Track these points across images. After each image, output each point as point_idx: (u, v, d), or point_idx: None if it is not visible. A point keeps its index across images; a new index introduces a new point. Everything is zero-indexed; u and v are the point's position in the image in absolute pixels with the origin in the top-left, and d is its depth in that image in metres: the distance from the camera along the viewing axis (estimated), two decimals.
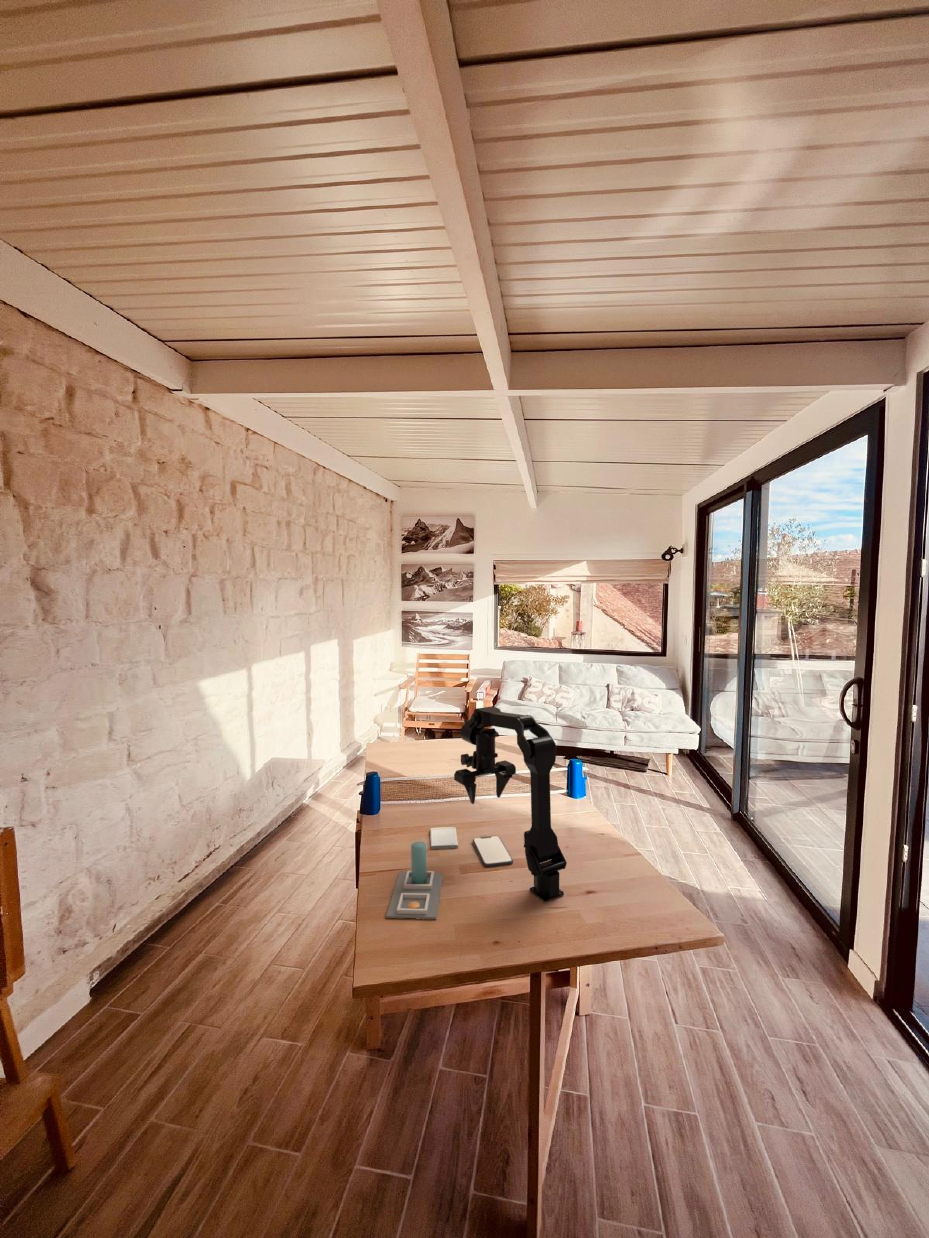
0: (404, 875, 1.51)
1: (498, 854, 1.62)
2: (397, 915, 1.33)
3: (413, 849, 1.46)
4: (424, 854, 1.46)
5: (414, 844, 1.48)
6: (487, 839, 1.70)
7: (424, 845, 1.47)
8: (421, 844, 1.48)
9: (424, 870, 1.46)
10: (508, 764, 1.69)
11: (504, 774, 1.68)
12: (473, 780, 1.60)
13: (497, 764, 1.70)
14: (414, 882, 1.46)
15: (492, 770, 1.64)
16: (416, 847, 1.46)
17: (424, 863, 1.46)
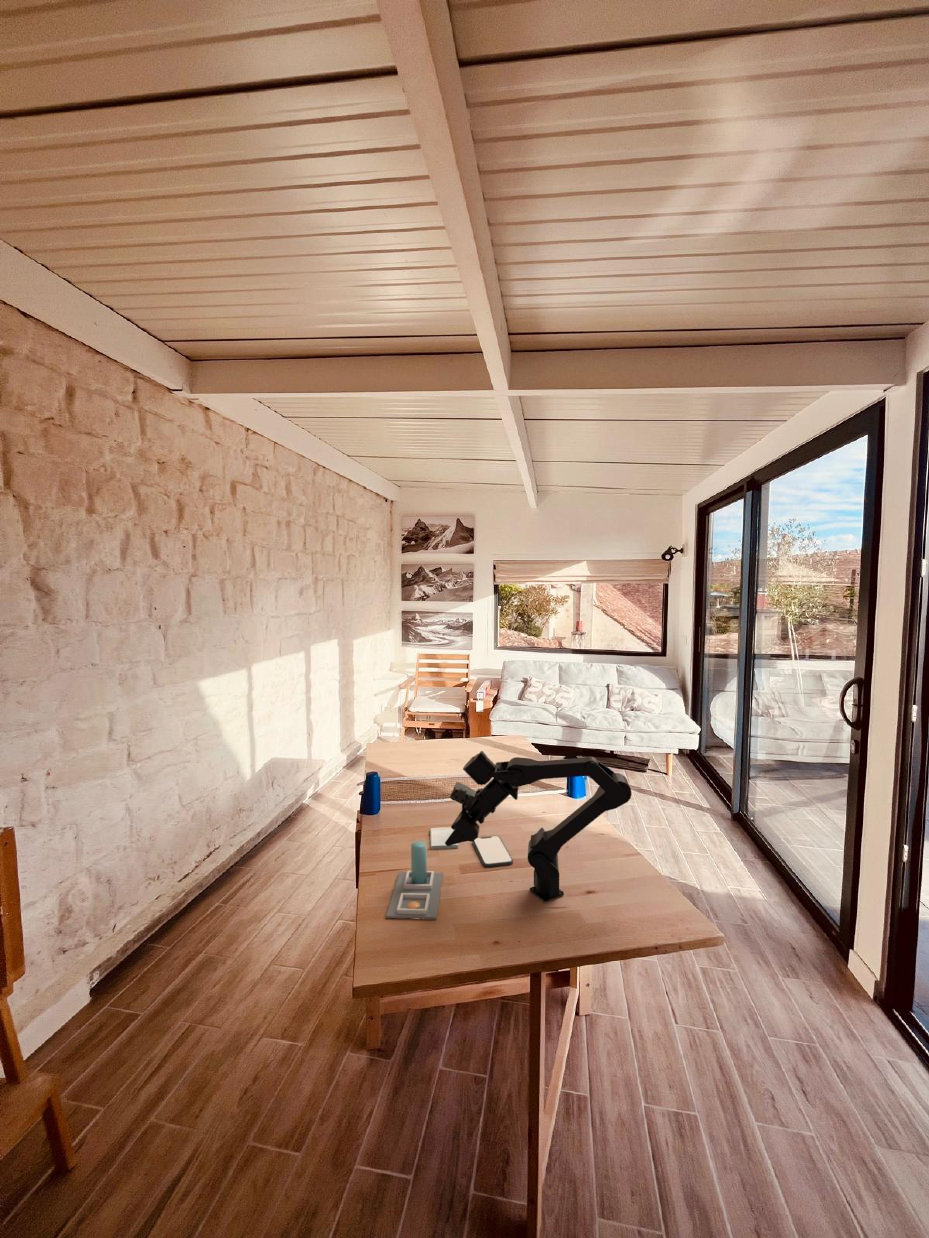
0: (404, 875, 1.51)
1: (498, 854, 1.62)
2: (397, 915, 1.33)
3: (413, 849, 1.46)
4: (424, 854, 1.46)
5: (414, 844, 1.48)
6: (487, 839, 1.70)
7: (424, 845, 1.47)
8: (421, 844, 1.48)
9: (424, 870, 1.46)
10: None
11: None
12: None
13: None
14: (414, 882, 1.46)
15: None
16: (416, 846, 1.46)
17: (424, 863, 1.46)
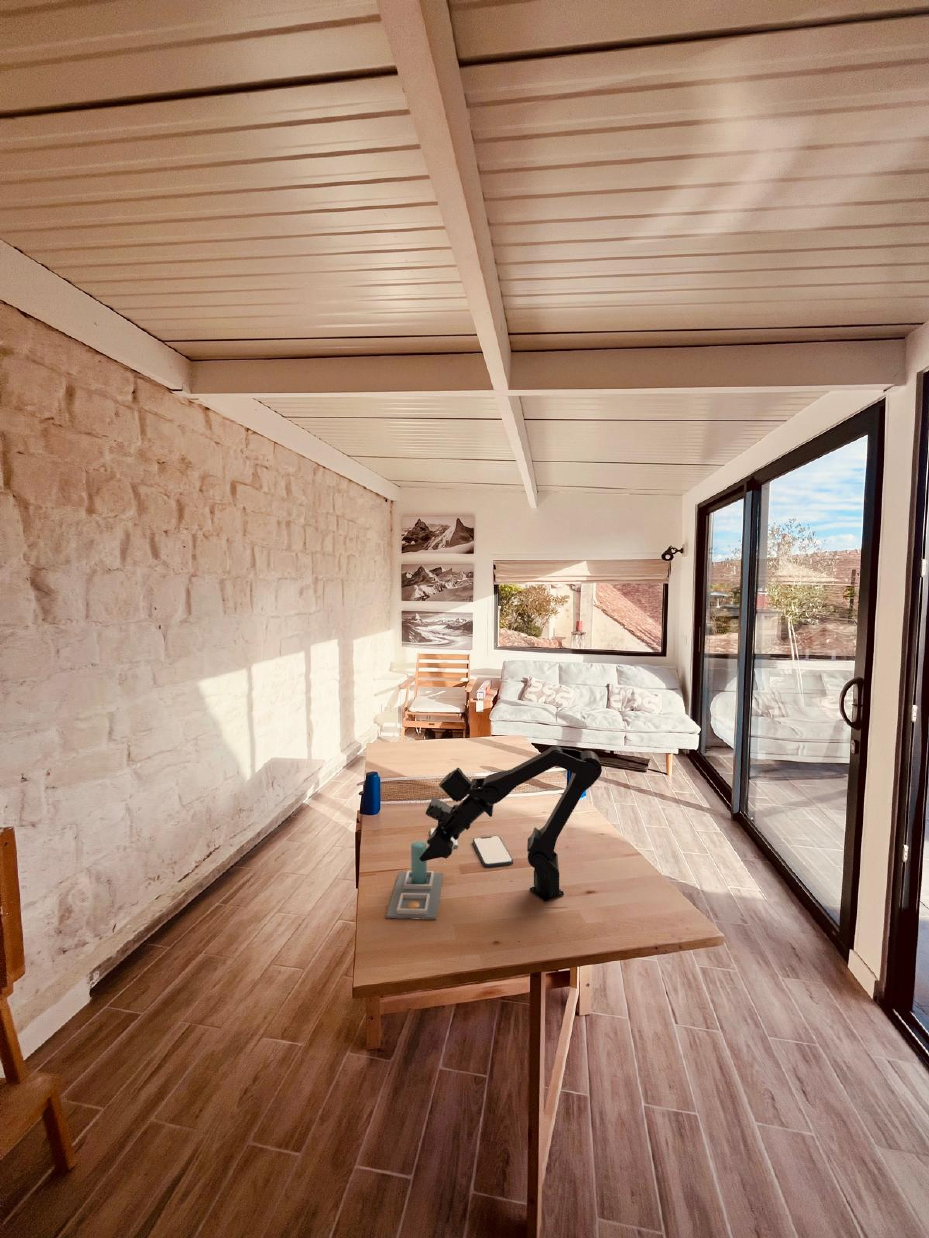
0: (404, 875, 1.51)
1: (498, 854, 1.62)
2: (397, 915, 1.33)
3: (413, 849, 1.46)
4: None
5: (414, 844, 1.48)
6: (487, 839, 1.70)
7: (424, 845, 1.47)
8: (421, 844, 1.48)
9: (424, 870, 1.46)
10: None
11: None
12: None
13: None
14: (414, 882, 1.46)
15: None
16: (416, 846, 1.46)
17: (424, 863, 1.46)
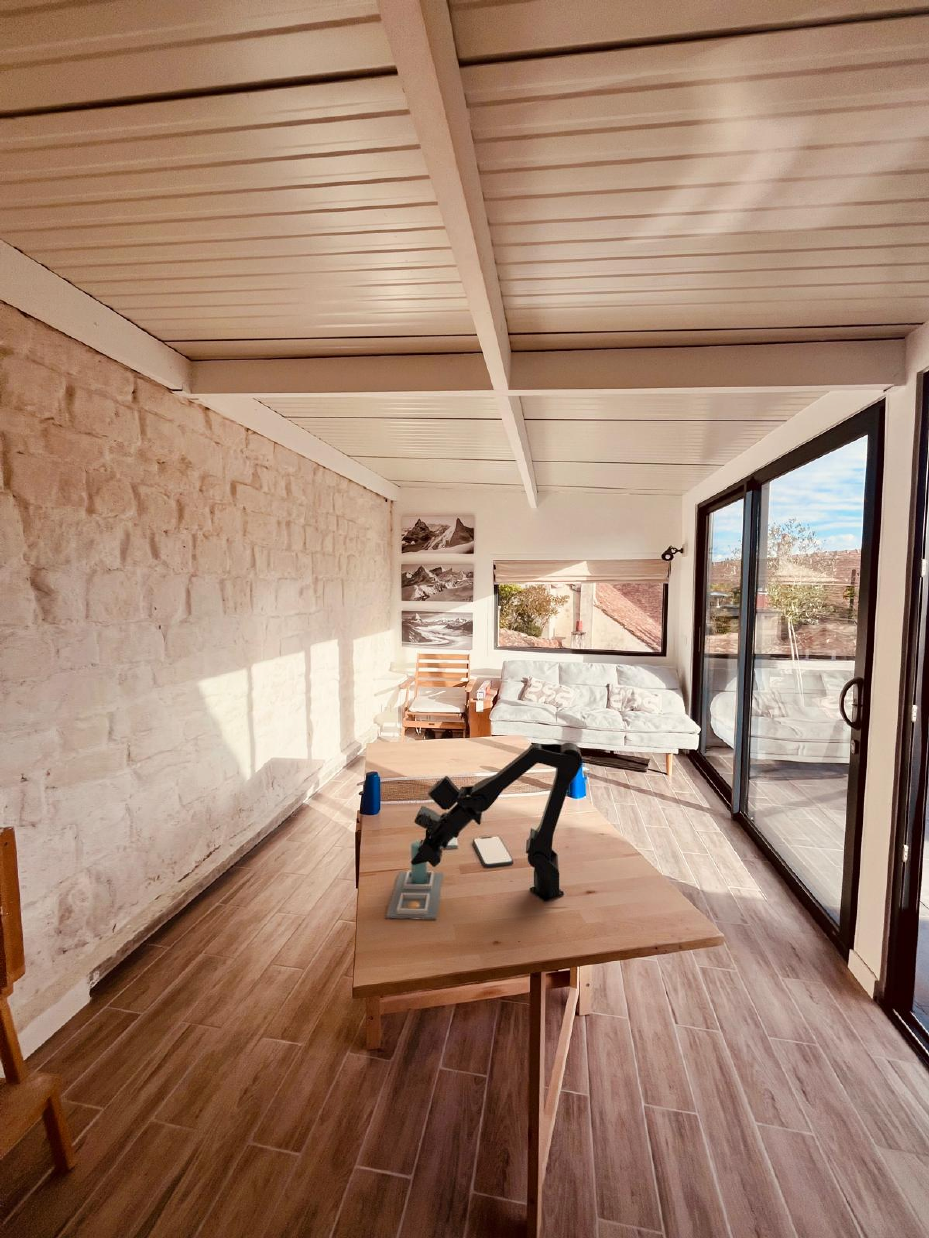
0: (404, 875, 1.51)
1: (498, 854, 1.62)
2: (397, 915, 1.33)
3: (413, 849, 1.46)
4: None
5: (414, 844, 1.48)
6: (487, 840, 1.70)
7: None
8: None
9: (424, 870, 1.46)
10: None
11: None
12: None
13: None
14: (414, 882, 1.46)
15: None
16: (416, 846, 1.46)
17: (424, 863, 1.46)
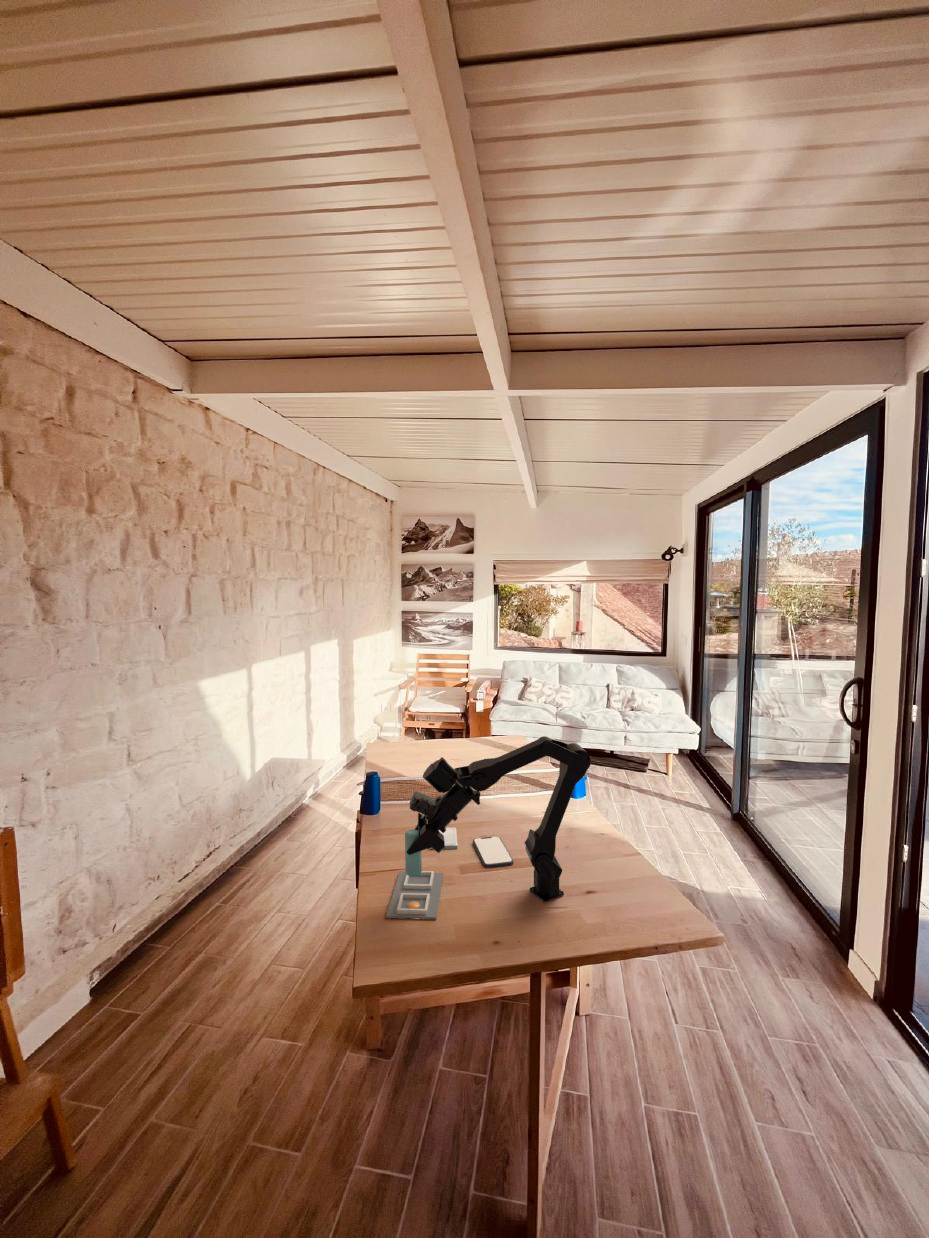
0: (404, 875, 1.51)
1: (498, 854, 1.62)
2: (397, 915, 1.33)
3: (408, 838, 1.37)
4: None
5: (408, 833, 1.39)
6: (487, 840, 1.70)
7: None
8: (415, 832, 1.39)
9: (420, 859, 1.38)
10: None
11: None
12: None
13: None
14: (410, 873, 1.38)
15: None
16: (412, 835, 1.38)
17: (420, 851, 1.38)
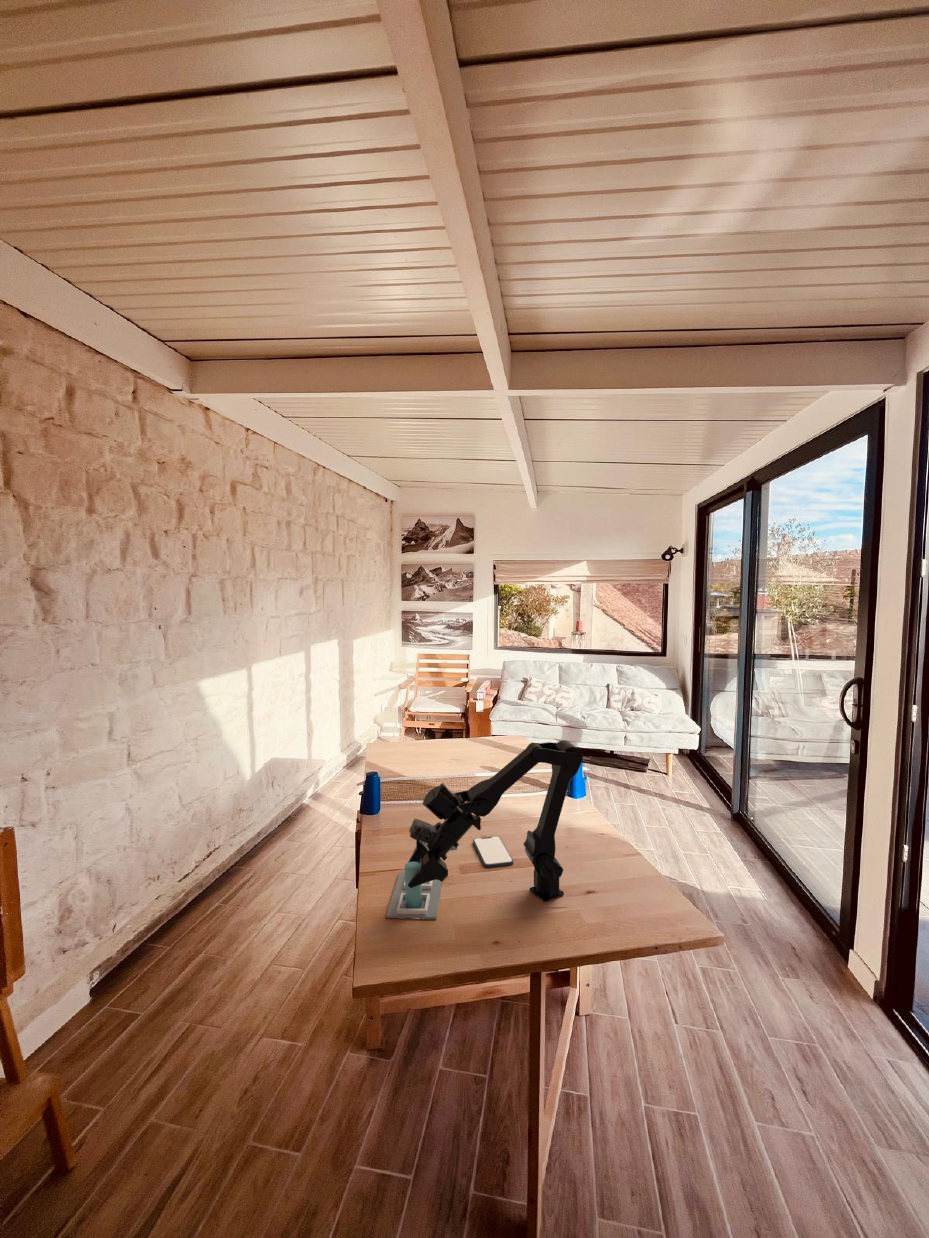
0: (404, 875, 1.51)
1: (498, 854, 1.62)
2: (397, 915, 1.33)
3: (409, 871, 1.35)
4: None
5: (407, 865, 1.36)
6: (487, 840, 1.70)
7: (419, 865, 1.37)
8: (414, 864, 1.37)
9: (420, 891, 1.36)
10: None
11: None
12: None
13: None
14: (410, 906, 1.35)
15: None
16: (412, 868, 1.35)
17: None
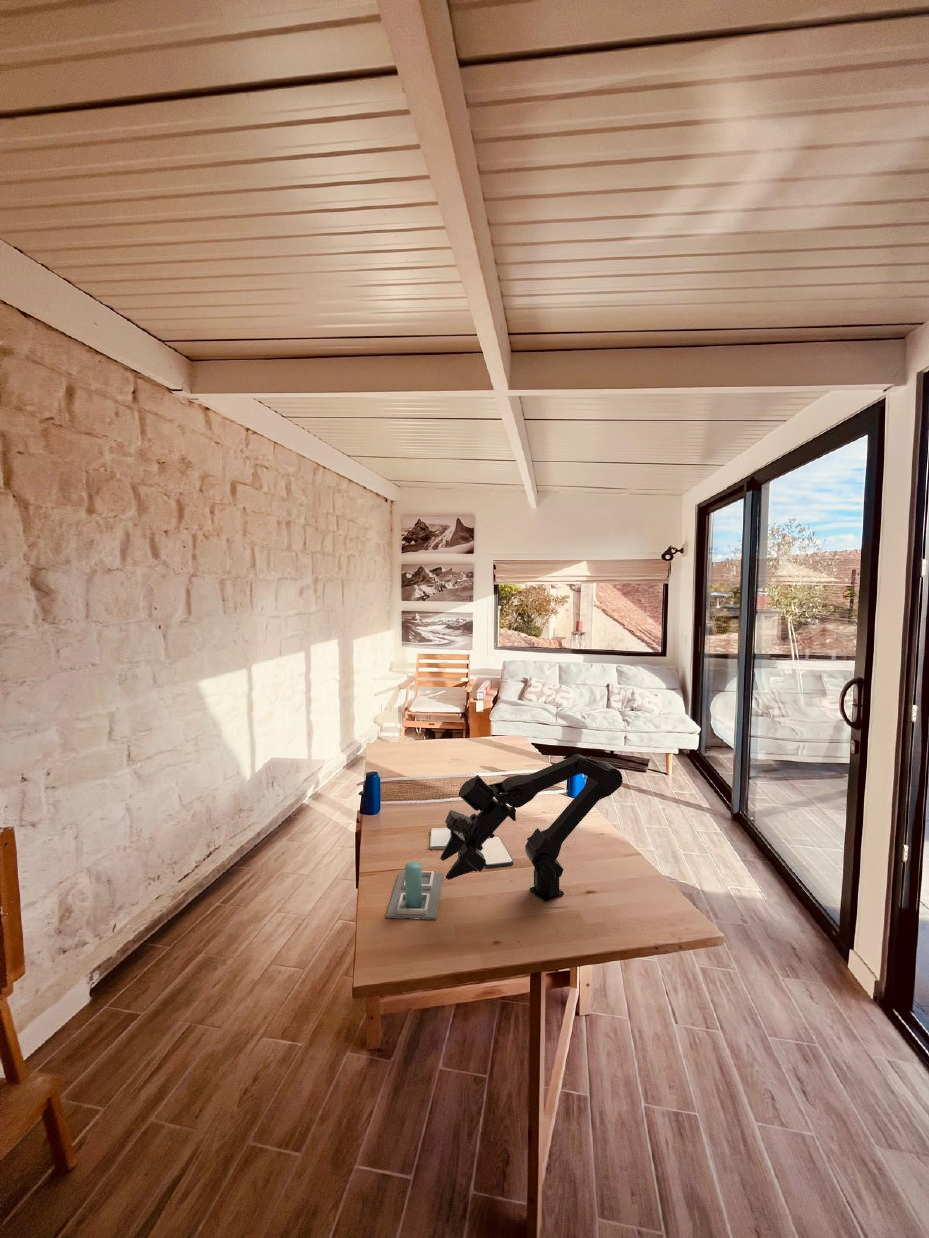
0: (404, 875, 1.51)
1: (498, 854, 1.61)
2: (397, 915, 1.33)
3: (409, 871, 1.35)
4: (420, 874, 1.36)
5: (408, 865, 1.36)
6: (488, 840, 1.70)
7: (419, 865, 1.37)
8: (415, 864, 1.37)
9: (420, 891, 1.36)
10: None
11: None
12: None
13: None
14: (410, 906, 1.35)
15: None
16: (412, 867, 1.35)
17: (420, 884, 1.36)
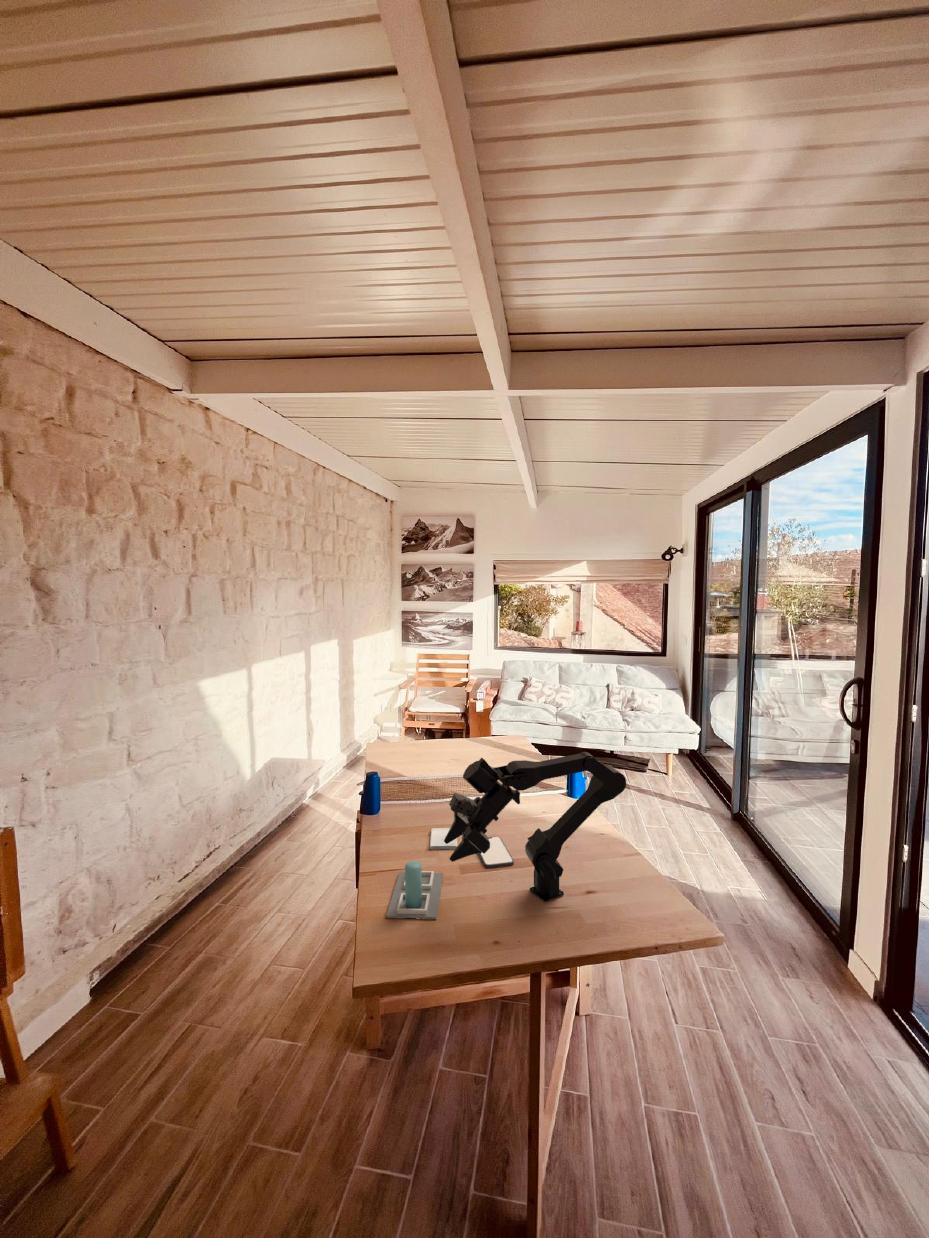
0: (404, 875, 1.51)
1: (498, 854, 1.61)
2: (397, 915, 1.33)
3: (409, 871, 1.35)
4: (420, 874, 1.36)
5: (408, 865, 1.36)
6: None
7: (419, 865, 1.37)
8: (415, 864, 1.37)
9: (420, 891, 1.36)
10: None
11: None
12: None
13: None
14: (410, 906, 1.35)
15: None
16: (412, 867, 1.35)
17: (420, 884, 1.36)
